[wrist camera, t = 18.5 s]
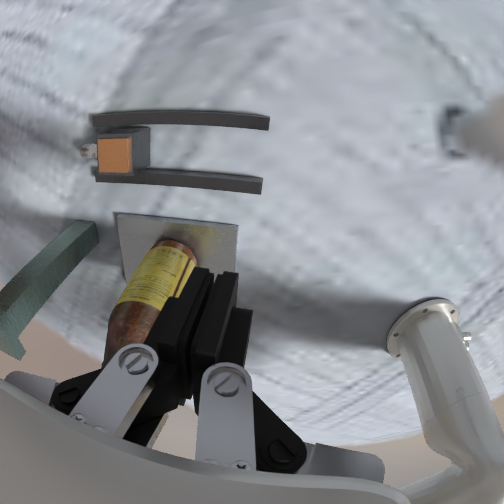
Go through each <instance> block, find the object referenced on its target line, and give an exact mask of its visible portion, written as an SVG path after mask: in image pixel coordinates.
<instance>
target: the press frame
mask: <svg viewBox="0 0 504 504" xmlns="http://www.w3.org/2000/svg"><path fill="white" fill-rule="evenodd" d="M269 122H270V117H268V116H258V115H248V114H236V113H222V112H202V111H143V112H123V113H109V114H99V115H95V116H93V127H98V126H113V125H138V124H182V125H208V126H224V127H237V128H248V129H258V130H267V131H268V130H269ZM95 178H96V182H109V183H131V184H149V185H165V186H178V187H191V188H202V189H213V190H223V191H233V192H242V193H251V194H259V195H261V190H262V182H263V178H257V177H248V176H239V175H229V174H219V173H207V172H194V171H180V170H163V169H143V170H142V171H140V172H139V173H137V174H136V175H134V176H122V175H98V170H97V171H95ZM117 225H118V233H119V241H120V247H121V254H122V260H123V266H124V272H125V278H126V283H127V284H128V283H129V281H130V279H131V278H132V276H133V275H134V273H135V271H136V270H137V268H138V266H139V265H140V263H141V261H142V260H143V258H144V256H145V255H146V254H147V252H148V251H150V249H151V248H152V247H153V245H155V244H156V243H158V242H160V241H164V240H173V241H178V242H179V243H182V244H184V245H186V246H187V247H188V248H189V249H190V250H191V251H192V253H193V255H194V256H195V259H196V261H197V267H202V268H209V270H210V273H214V282H215V280H216V277H217V275H218V274H222V275H223V272H224V271H228V272H235V260H236V248H237V236H238V225H230V224H221V223H212V222H203V221H194V220H185V219H175V218H166V217H156V216H145V215H135V214H124V213H120V214H119V215H118V216H117ZM97 244H98V237H97V231H96V225H95V222H92V221H82V220H77V221H75V222H74V223H73V224H72V225H71V226H69V227H68V228H67V229H66V230H65V231H63V232H62V233H61V234H60V235H59V236H58V237H56V238H55V239H54V240H53V241H52V242H51V243H49V244H48V245H47V246H46V247H45V248H44V249H43V250H42V251H41V252H39V253H38V254H37V255H36V256H35V257H34V258H33V259H32V260H31V261H30V262H29V263H28V264H27V265H26V266H25V267H24V268H23V269H22V270H21V271H20V272H19V273H18V274H17V275H16V276H15V277H14V278H13V279H12V280H11V281H10V282H9V283H8V284H7V285H6V286H5V287H4V288H3V289H2V290H1V291H0V350H1V351H3V352H5V353H7V354H8V355H10V356H12V357H14V358H16V359H18V360H21V359H22V357H23V356H24V354H25V352H26V351H25V349H24V347H23V346H22V344H21V343H20V340H19V339H18V337H19V335H20V334H21V332H22V331H23V330H24V329H25V327H26V326H27V325H28V323H29V322H30V321H31V319H32V318H33V317H34V316H35V314H36V313H37V312H38V310H39V309H40V308H41V307H42V306H43V304H44V303H45V302H46V301H47V299H48V298H49V297H50V296H51V295H52V293H53V292H54V291H55V290H56V289H57V288H58V286H59V285H60V284H61V283H62V282H63V281H64V279H65V278H66V277H67V276H68V275H69V274H70V273H71V272H72V270H73V269H74V268H75V267H76V266H77V265H78V264H79V263H80V262H81V261H82V260H83V259H84V257H85V256H86V255H87V254H88V253H89V252H90V251H91V250H92V249H93V248H94V247H95V246H96V245H97Z"/></svg>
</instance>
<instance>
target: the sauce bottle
mask: <svg viewBox="0 0 504 504" xmlns="http://www.w3.org/2000/svg"><path fill="white" fill-rule="evenodd" d="M195 266H196V267H197V261H196V259H195V256H194V255H193V253H192V251H191V250H190V249H189V248H188V247H187V246H186V245H184V244H182V243H179V242H178V241H173V240H164V241H160V242H158V243H156V244H155V245H153V247H152V248H151V249H150V251H148V252H147V254H146V255H145V256H144V258H143V260H142V261H141V263H140V265H139V266H138V268H137V270H136V271H135V273H134V275H133V276H132V278H131V279H130V281H129V283H128V284H127V286H126V288H125V290H124V291H123V293H122V295H121V297H120V298H119V300H118V302H117V304H116V306H115V307H114V309H113V311H112V313H111V315H110V318H109V323H108V333H107V339H106V346H105V353H104V361H103V363H102V368H104V367H106V366H107V364H108V363H109V362H110V361H111V359H112V358H113V357H114V356H115V354H116V353H117V352H118V351H119V350H120V349H121V348H123V347H125V346H127V345H130V344H143V343H144V341H145V339H146V337H147V335H148V333H149V332H150V330H151V328H152V326H153V324H154V322H155V320H156V318H157V317H158V315H159V313H160V311H161V309H162V307H163V306H164V304H165V302H166V300H167V299H168V297H170V296H172V297H179V295H180V293H181V291H182V289H183V287H184V285H185V283H186V282H187V280H188V278H189V276H190V274H191V272H192V270H193V268H194V267H195Z"/></svg>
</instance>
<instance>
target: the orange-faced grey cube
mask: <svg viewBox="0 0 504 504" xmlns="http://www.w3.org/2000/svg"><path fill="white" fill-rule="evenodd" d="M96 137H97V143H90V144H84V145H83V146H82V148H81V156H82V158H84V159H91V158H97V160H98V175H122V176H134V175H136V174H137V173H139V172H140V171H142V170H143V169H145V168H146V167H148V166H150V128H117V129H113V130H110V131H107V132H104V133H101V134H97V135H96Z"/></svg>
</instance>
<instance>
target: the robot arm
mask: <svg viewBox="0 0 504 504" xmlns="http://www.w3.org/2000/svg"><path fill="white" fill-rule="evenodd" d="M238 276H239V274H238V273H235V272H228V271H224V272H223V275H222V274H218V275H217V277H216V280H215V282H214V273H210V270H209V268H202V267H196V266H195V267H194V268H193V270H192V272H191V274H190V276H189V278H188V280H187V282H186V283H185V285H184V287H183V289H182V291H181V293H180V295H179V297H172V296H170V297H168V299H167V300H166V302H165V304H164V306H163V307H162V309H161V311H160V313H159V315H158V317H157V318H156V320H155V322H154V324H153V326H152V328H151V330H150V332H149V333H148V335H147V337H146V339H145V341H144V343H143V344H130V345H127V346H125V347H123V348H121V349H120V350H119V351H118V352H117V353H116V354H115V356H114V357H113V358H112V359H111V361H110V362H109V363H108V364H107V366H106V367H104V368H101V369H99V370H96V371H93V372H90V373H87V374H84V375H81V376H78V377H75V378H72V379H69V380H66V381H64V382H61V383H58V381H57V380H55V379H50V378H45V377H41V376H37V375H33V374H29V373H25V372H21V371H14V372H11V373H9V374H8V375H7V376H6V378H5V379H4V380H2V379H0V504H504V431H503V429H502V427H501V424H500V422H499V419H498V417H497V415H496V412H495V410H494V408H493V405H492V402H491V400H490V397H489V395H488V392H487V390H486V388H485V385H484V383H483V381H482V378H481V376H480V374H479V372H478V370H477V368H476V365H475V363H474V361H473V359H472V357H471V355H470V353H469V351H468V349H469V343H468V342H467V340H470V338H471V333H470V332H463V333H462V332H461V330H460V328H459V326H458V324H459V318H460V317H459V312H458V310H457V308H456V307H455V305H454V304H453V303H452V302H450V301H448V300H445V299H434V300H429V301H426V302H423V303H421V304H419V305H417V306H415V307H413V308H411V309H410V310H408V311H407V312H406V313H404V314H403V315H402V316H401V317H400V318H399V319H398V320H397V321H396V322H395V324H394V325H393V326H392V328H391V330H390V331H389V334H388V336H387V342H386V343H387V348H388V351H389V353H390V355H391V356H392V357H393V358H395V359H398V360H401V361H403V364H404V367H405V370H406V374H407V377H408V380H409V383H410V386H411V390H412V393H413V396H414V400H415V403H416V407H417V411H418V414H419V418H420V422H421V426H422V430H423V434H424V438H425V440H426V443H427V444H428V446H429V447H430V448H431V449H432V450H433V451H435V452H436V453H438V454H441V455H443V456H445V457H447V458H449V459H450V460H451V461H452V463H451V465H450V466H448V467H446V468H444V469H443V470H441V471H439V472H437V473H435V474H433V475H430V476H428V477H426V478H423V479H421V480H418V481H416V482H413V483H411V484H408V485H406V486H403V487H401V488H399V489H395V488H393V487H391V486H389V485H385V484H383V480H384V473H385V467H384V464H383V462H382V460H381V459H380V458H378V457H377V456H376V455H373V454H370V453H363V452H358V451H352V450H347V449H342V448H337V447H332V446H328V445H323V444H319V443H316V444H315V445H313V444H309V443H305V442H303V441H302V439H301V438H300V437H299V436H298V435H297V434H295V433H294V432H293V431H292V430H291V429H290V428H289V427H288V426H287V425H286V424H285V423H284V422H283V421H282V420H281V419H280V418H279V417H278V416H277V415H276V414H275V413H274V412H273V411H272V410H271V409H270V408H269V407H268V406H267V405H266V404H265V403H264V402H263V401H262V400H261V399H260V398H259V397H258V396H257V395H256V394H255V393H254V392H253V391H252V381H251V376H250V375H249V373H248V372H247V371H246V370H245V369H244V365H245V359H246V353H247V347H248V341H249V335H250V328H251V321H252V314H253V310H248V309H242V308H236V299H237V287H238ZM192 395H193V399H194V407H195V413H196V414H197V415H198V428H197V441H196V455H195V460H190V459H186V458H182V457H178V456H174V455H170V454H167V453H163V452H160V451H157V450H153V449H151V448H152V446H153V445H154V443H155V441H156V439H157V437H158V435H159V434H160V432H161V430H162V428H163V426H164V425H165V423H166V421H167V419H168V417H169V414H170V411H172V410H174V409H176V408H177V407H178V405H182V406H184V404H185V401H186V399H191V398H192Z"/></svg>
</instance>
